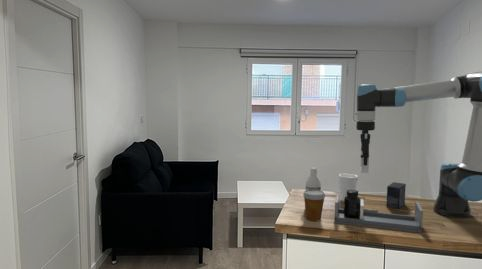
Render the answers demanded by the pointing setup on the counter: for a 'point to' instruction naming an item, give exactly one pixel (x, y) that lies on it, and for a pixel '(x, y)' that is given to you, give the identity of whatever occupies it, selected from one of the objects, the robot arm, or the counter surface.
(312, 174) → the bath foam
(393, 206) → the small box
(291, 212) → the counter surface
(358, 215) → the supplement bottle
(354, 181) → the foam cup
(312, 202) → the disposable coffee cup
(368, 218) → the tray
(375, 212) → the pusher
